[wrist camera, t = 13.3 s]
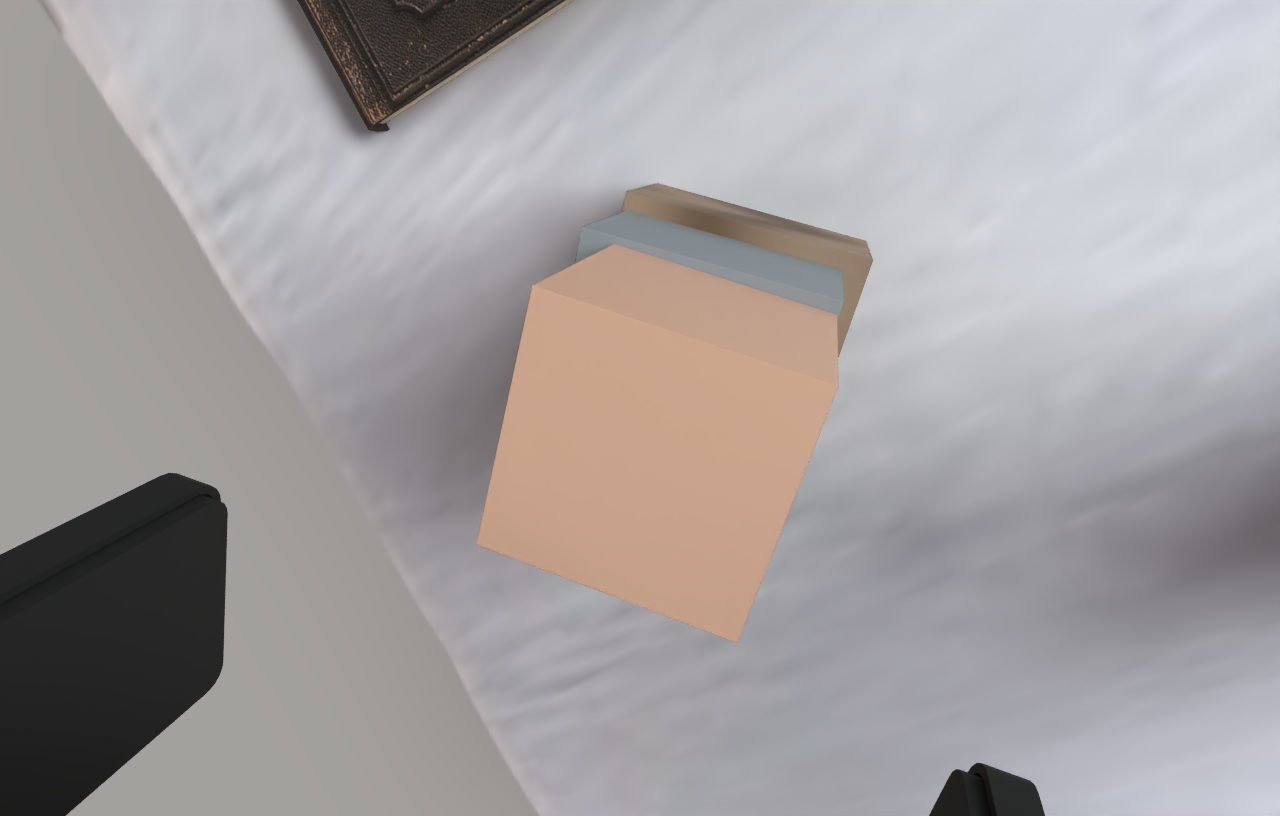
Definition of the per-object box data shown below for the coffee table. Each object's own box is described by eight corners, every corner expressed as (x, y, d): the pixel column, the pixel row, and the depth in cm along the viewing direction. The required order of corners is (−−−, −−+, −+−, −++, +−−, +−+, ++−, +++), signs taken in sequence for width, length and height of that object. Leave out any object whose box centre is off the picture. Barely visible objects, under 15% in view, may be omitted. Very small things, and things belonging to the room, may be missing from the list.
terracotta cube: (837, 314, 19) (838, 386, 14) (761, 514, 22) (737, 643, 16) (614, 243, 20) (532, 285, 15) (563, 443, 22) (476, 544, 17)
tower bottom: (866, 240, 28) (872, 260, 24) (798, 434, 31) (792, 485, 27) (658, 183, 29) (626, 191, 25) (611, 376, 32) (575, 415, 28)
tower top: (841, 269, 24) (844, 300, 19) (775, 466, 27) (763, 535, 22) (628, 210, 25) (582, 226, 20) (584, 406, 27) (534, 460, 23)
